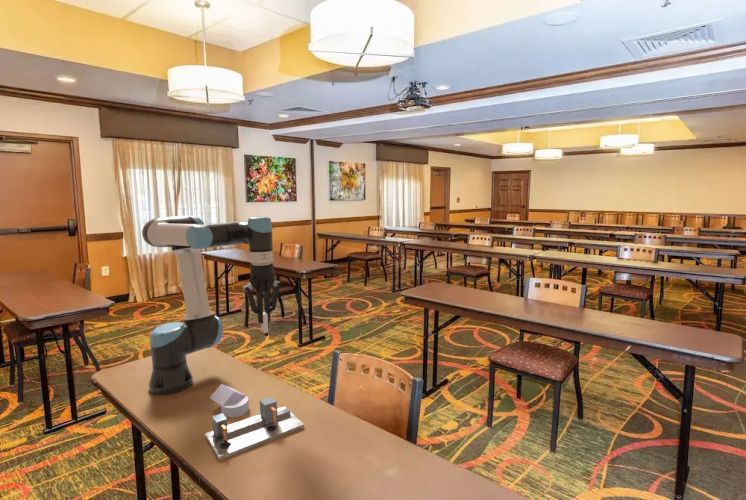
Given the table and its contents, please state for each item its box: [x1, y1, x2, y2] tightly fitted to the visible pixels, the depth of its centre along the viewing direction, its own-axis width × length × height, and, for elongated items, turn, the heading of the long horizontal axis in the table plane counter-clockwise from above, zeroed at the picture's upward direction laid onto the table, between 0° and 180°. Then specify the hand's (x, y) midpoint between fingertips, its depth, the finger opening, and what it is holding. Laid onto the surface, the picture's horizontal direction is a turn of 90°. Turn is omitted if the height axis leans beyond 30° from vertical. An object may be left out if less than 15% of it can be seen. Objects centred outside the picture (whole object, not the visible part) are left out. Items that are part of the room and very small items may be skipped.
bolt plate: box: [204, 405, 305, 461], centre depth 127 cm, size 14×26×8 cm, turn 127°
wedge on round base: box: [209, 383, 250, 418], centre depth 141 cm, size 9×7×13 cm
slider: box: [259, 396, 278, 426], centre depth 129 cm, size 7×4×6 cm, turn 37°
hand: (264, 331), depth 140 cm, fingers closed
